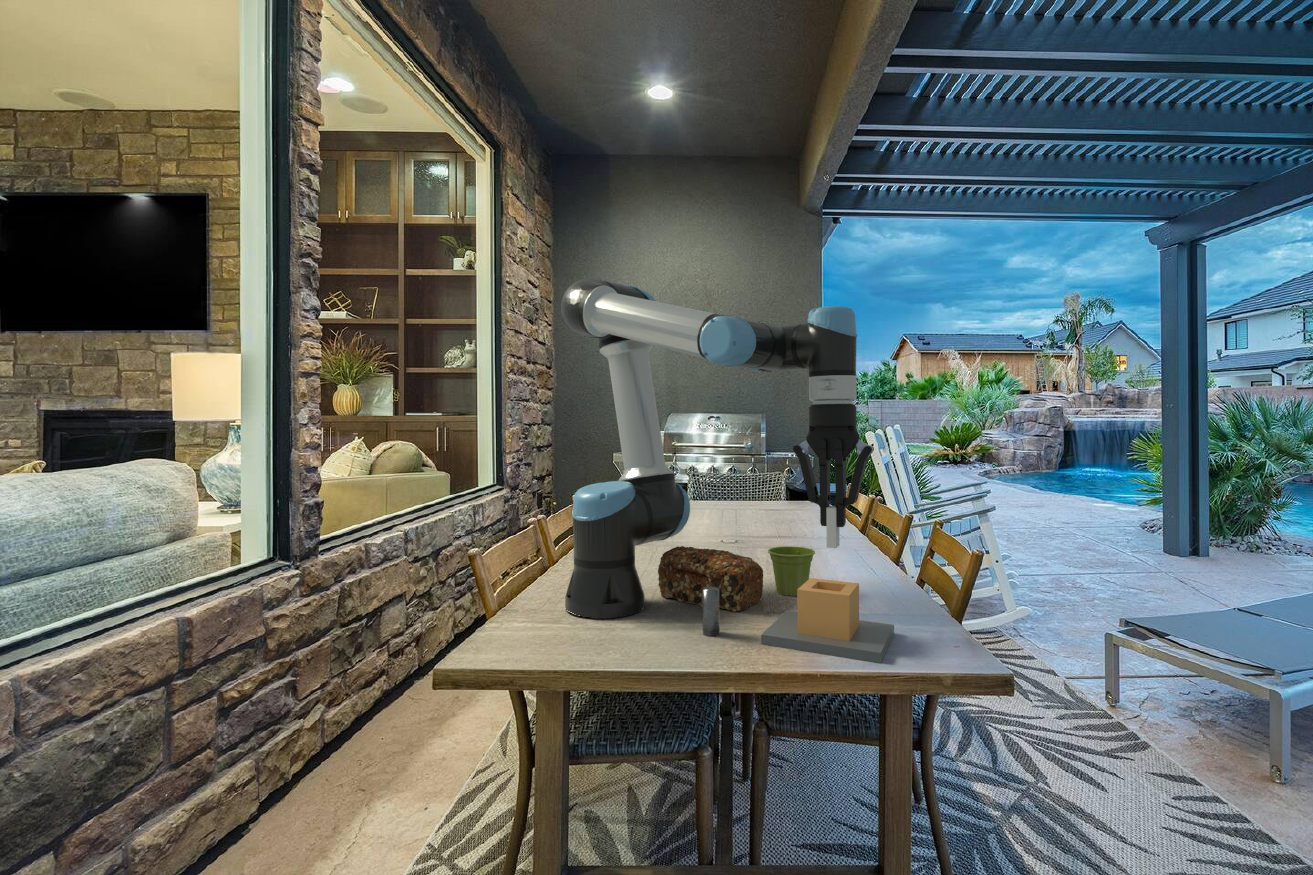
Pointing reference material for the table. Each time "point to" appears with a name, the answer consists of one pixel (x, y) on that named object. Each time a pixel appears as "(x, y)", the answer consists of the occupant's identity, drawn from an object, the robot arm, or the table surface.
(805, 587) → the collar
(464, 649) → the table surface
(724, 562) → the bread
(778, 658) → the table surface
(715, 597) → the shiny metal cylinder
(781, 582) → the plant pot
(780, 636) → the board
